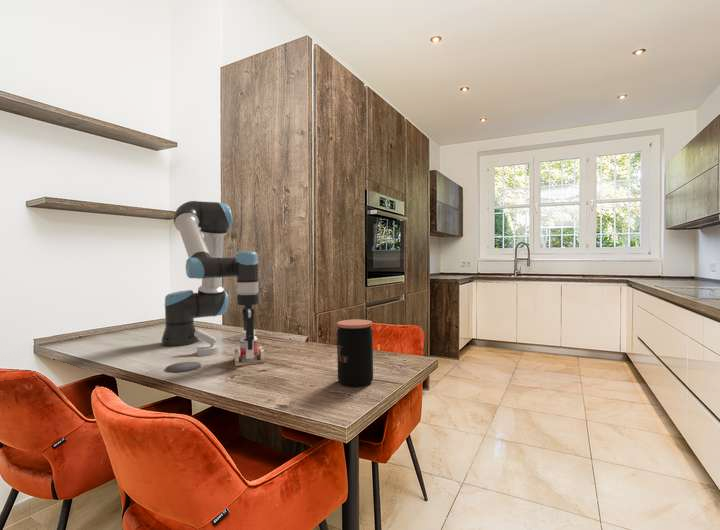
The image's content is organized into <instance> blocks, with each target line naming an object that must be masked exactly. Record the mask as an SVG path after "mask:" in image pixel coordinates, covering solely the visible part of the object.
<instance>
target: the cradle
mask: <svg viewBox="0 0 720 530" xmlns="http://www.w3.org/2000/svg"><path fill="white" fill-rule="evenodd" d="M233 353H234V355H233V356H234V364H235V365H234V366H235V367H238V366H240V367H241V366H248V365H257V364H265V363H266V360H265V349H264V348H263V346H258V360H253V361H244V362H241V361H240V360H241V357H240V352H239V348H234V352H233Z"/></svg>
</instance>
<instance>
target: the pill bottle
mask: <svg viewBox="0 0 720 530" xmlns="http://www.w3.org/2000/svg"><path fill="white" fill-rule="evenodd" d="M255 335H256V330H255V329H254V339H253V340H254V358H251V359H246V341H244V339H246V330H245V331H244V330H242V331H241V336H242V337H240V339H239V347H240V349H239V351H240V352H239V356H240V357H241V359H240V362H244V361H253V360H259V357H258V354H259V346H258V337H257V336H255Z"/></svg>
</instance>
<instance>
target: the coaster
mask: <svg viewBox="0 0 720 530" xmlns="http://www.w3.org/2000/svg"><path fill="white" fill-rule="evenodd" d="M201 366H202V363H200V362H197V361H183V362H177V363H173V364H170V365H168V366H166V367H165V371H166V372H168V373H185V372H191V371H195V370H197V369H200V368H201Z"/></svg>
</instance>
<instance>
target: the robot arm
mask: <svg viewBox="0 0 720 530" xmlns="http://www.w3.org/2000/svg"><path fill="white" fill-rule="evenodd" d="M233 221H234V220H233V213H232V210H231V207H230V206H229V205H228V204H227V203H224V202H218V201H199V200H198V201H197V200H190V201H187V202H185V203H183V204H180V205H179V207H177V209H176V210H175V212H174V214H173V224H174V227H175V229H176V230H177V231H179V233H180V237H181V240H182V243H183V245H184V248H185V250H186V254H187V256H188V258H187V259H186V260H185V261H186V262H185V273H186V276H187V278H189V279H197V280H198V279H199V280H201V285H200V286H199V287H198V290H197V292H194V291H193V290H192V289H188V290H179V291H175V292H171V293H168V294H166V295H165V298H164V310H165V311H164V317H165V318H164V319H165V320H164V321H165V327H164V331H163V334H162V337H161V345H162V346H165V347H166V346H167V347H177V346H178V347H179V346H186V345H191V344H195V343H197V342H198V341H199V338H198V337H196V336H194V333H195V331H196V330H197V329H196V327H195V324H194V322H195V321H194V319H199V318H209V317H218V316H223V315H224V314H225V313H226V311H227V309H228V307H229V295H228V293H227V291H226V290H225V288H224V287H223V286H222V278H236V284H235V285H234V287H235V288H237V289H236V291H237V296H236V301H237V302H236V303H237V305H238V306H243V308H242V310H241V311H242V320H243V331H245V330H246V339H244V341H246V359H251V358H254V340H253V339H254V330H255V329H254V322H255V321H254V320H255V318H254V317H255V309H254V308H253V306H254V305H258V304H259V302H260V301H259V294H258V293H259V292H260V291H259V260H258V253H257V252H255V251H238V252H237V253H236V255H235V256H236V257H223V256H224V238H225V236H226V235H227V234H228V230H230V229H232V227H233Z"/></svg>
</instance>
